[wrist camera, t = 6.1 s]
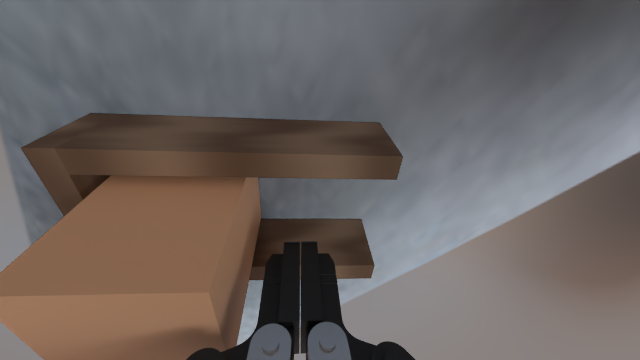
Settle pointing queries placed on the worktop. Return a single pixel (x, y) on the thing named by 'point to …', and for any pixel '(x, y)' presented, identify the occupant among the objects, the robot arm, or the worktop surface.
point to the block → (138, 271)
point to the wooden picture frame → (225, 167)
